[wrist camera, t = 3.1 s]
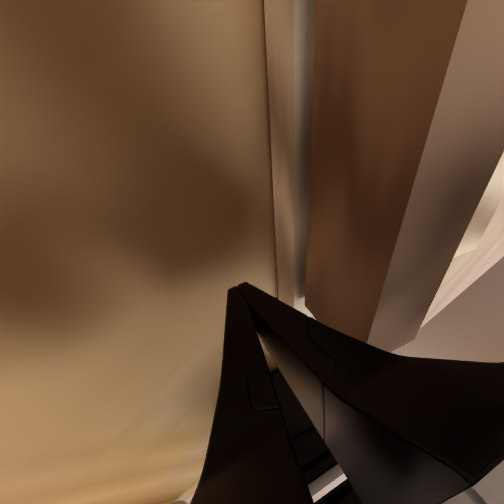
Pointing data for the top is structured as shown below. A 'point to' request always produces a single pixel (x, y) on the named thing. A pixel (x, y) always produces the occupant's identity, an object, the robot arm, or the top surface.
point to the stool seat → (299, 144)
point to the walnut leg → (397, 155)
